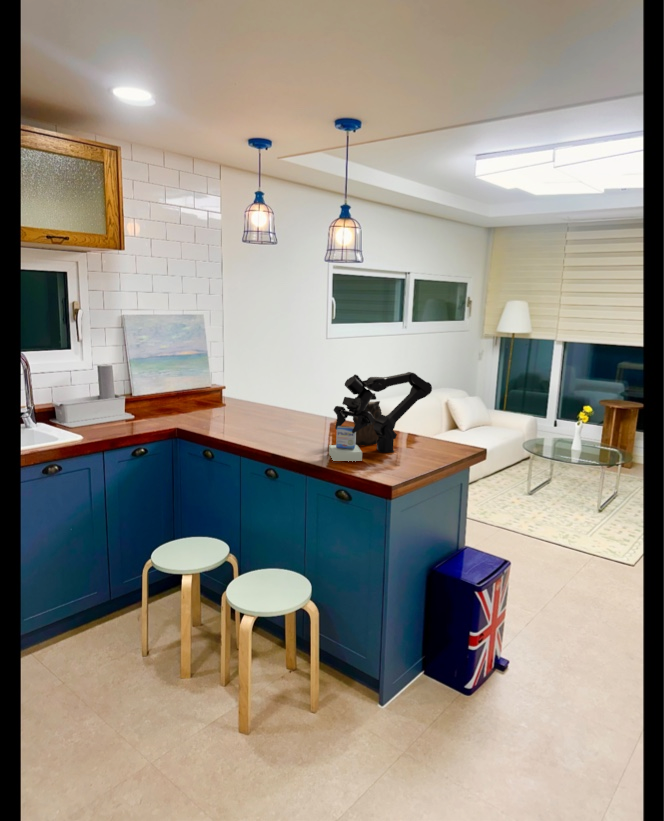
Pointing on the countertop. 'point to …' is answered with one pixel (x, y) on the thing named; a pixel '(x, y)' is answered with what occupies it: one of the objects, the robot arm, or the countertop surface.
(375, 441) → the owl
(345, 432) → the medicine box
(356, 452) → the mint block
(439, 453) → the countertop surface
